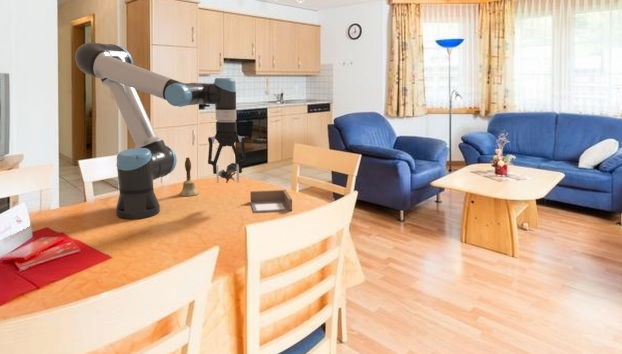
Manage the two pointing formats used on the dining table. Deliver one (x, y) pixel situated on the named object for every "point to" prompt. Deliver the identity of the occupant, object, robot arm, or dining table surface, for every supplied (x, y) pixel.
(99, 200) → the dining table surface
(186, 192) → the hand bell
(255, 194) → the tray
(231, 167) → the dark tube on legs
